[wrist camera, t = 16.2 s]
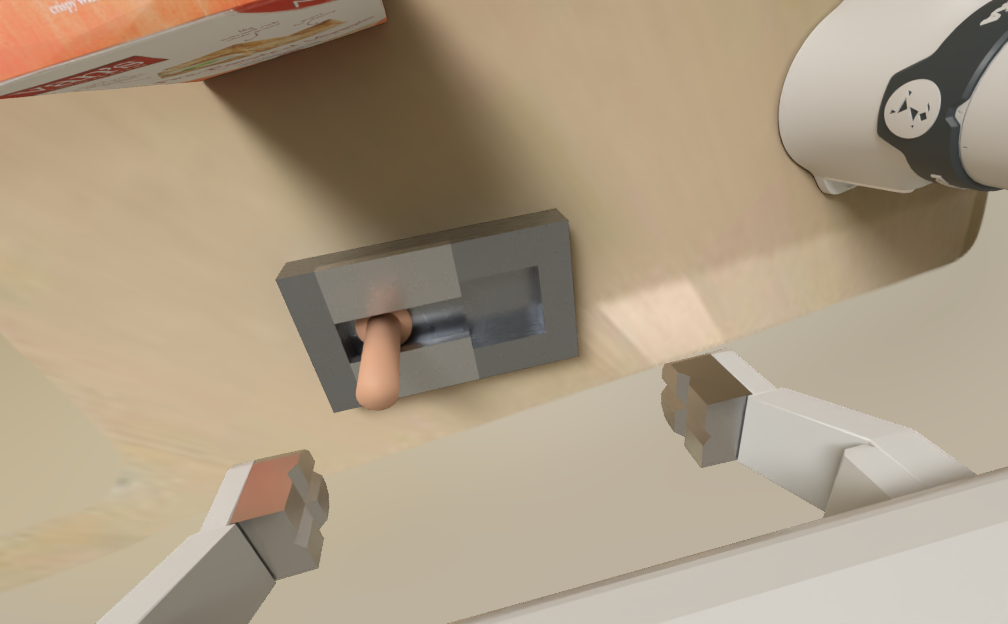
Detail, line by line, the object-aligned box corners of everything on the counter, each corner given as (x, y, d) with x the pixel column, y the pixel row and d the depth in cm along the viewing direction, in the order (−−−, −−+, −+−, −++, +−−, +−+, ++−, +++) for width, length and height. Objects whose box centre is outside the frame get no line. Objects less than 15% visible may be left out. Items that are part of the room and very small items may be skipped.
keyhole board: (555, 208, 41) (568, 219, 38) (567, 337, 48) (578, 355, 45) (286, 262, 39) (275, 279, 36) (339, 389, 46) (333, 412, 42)
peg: (404, 291, 41) (403, 357, 31) (417, 337, 43) (419, 411, 34) (349, 303, 41) (331, 373, 31) (365, 349, 43) (353, 427, 33)
